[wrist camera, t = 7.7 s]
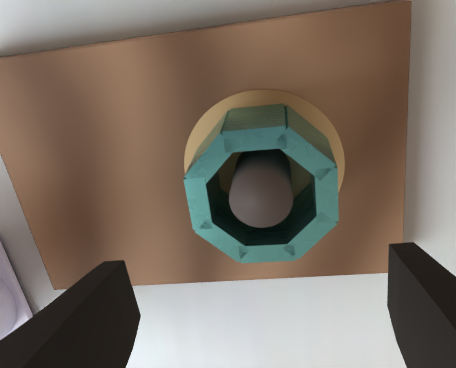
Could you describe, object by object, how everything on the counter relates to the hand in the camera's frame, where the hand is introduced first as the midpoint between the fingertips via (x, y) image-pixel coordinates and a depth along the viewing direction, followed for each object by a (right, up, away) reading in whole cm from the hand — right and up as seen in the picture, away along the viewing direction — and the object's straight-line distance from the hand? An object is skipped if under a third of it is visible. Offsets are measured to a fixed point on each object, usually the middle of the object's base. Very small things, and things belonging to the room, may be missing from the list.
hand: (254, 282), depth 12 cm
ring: (+1, +3, +7) cm, 8 cm away
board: (-2, +4, +9) cm, 10 cm away
